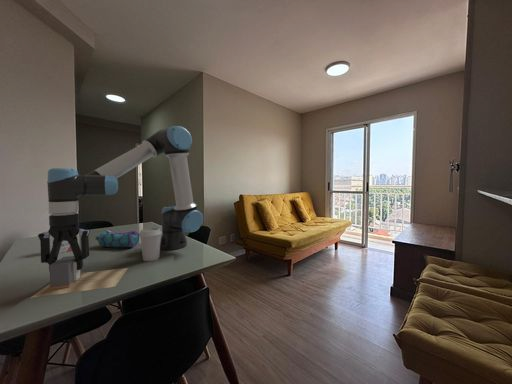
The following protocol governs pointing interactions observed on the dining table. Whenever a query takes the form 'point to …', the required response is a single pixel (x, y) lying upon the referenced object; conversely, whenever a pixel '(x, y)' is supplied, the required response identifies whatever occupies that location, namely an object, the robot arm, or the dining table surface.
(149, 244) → the coffee cup
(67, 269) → the block
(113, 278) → the board
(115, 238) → the pencil case
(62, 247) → the ink box
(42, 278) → the dining table surface
